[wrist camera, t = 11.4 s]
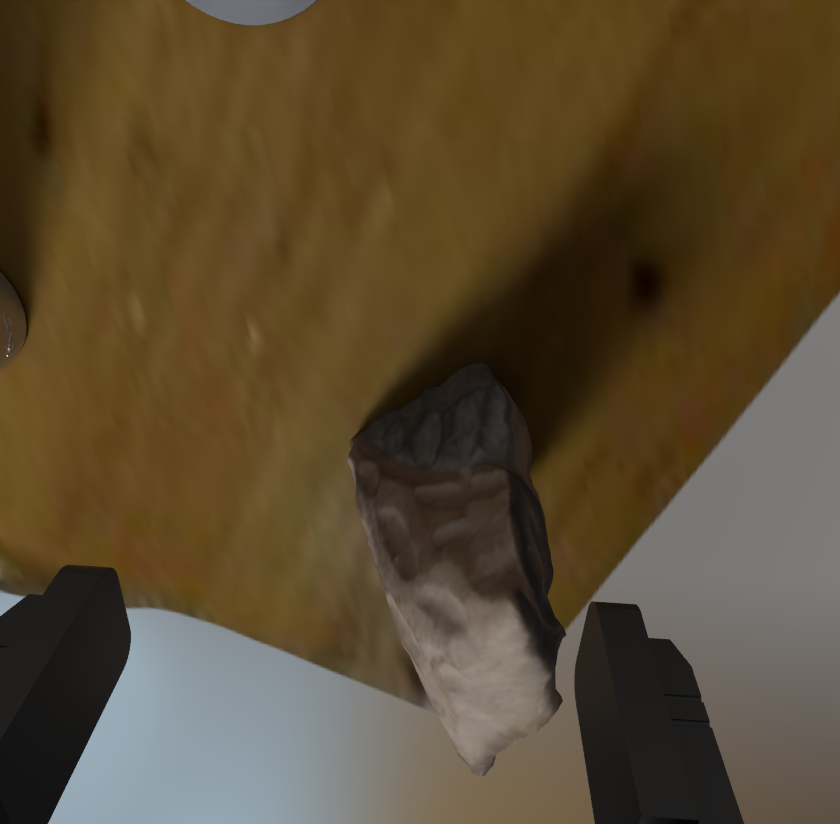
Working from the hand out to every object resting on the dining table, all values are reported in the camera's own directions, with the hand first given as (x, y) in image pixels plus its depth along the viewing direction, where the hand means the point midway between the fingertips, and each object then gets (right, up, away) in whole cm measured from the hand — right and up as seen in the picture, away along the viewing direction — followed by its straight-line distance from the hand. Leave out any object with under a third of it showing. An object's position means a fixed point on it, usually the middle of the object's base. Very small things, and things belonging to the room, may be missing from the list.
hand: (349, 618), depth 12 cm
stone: (+3, +2, +38) cm, 38 cm away
